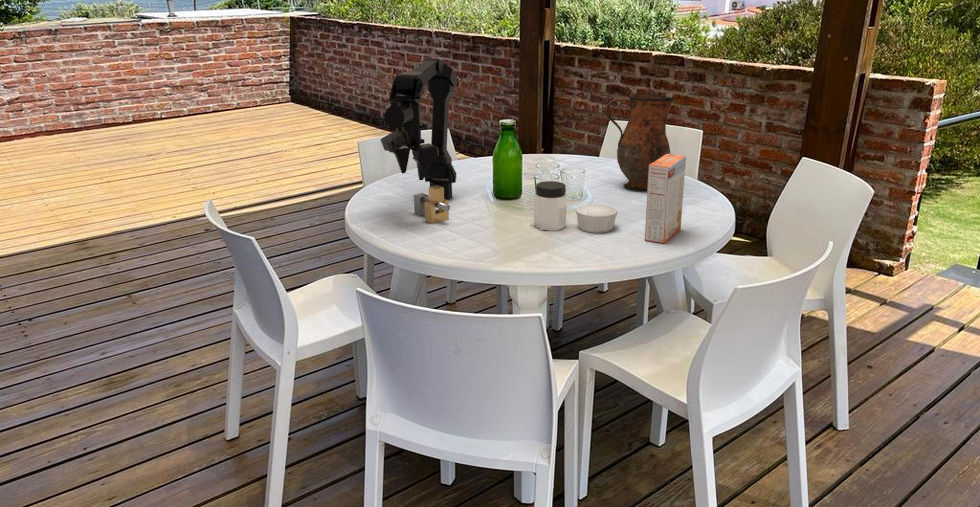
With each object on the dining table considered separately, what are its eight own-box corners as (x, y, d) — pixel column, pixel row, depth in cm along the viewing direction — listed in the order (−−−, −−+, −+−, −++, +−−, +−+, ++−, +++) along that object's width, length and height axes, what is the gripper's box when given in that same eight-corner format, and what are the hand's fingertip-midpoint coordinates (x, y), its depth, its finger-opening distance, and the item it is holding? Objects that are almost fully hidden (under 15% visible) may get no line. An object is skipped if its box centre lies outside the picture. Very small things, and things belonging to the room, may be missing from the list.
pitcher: (671, 194, 247) (679, 99, 237) (604, 194, 248) (609, 99, 238) (662, 181, 263) (669, 91, 252) (599, 180, 264) (603, 91, 253)
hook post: (423, 213, 230) (422, 192, 228) (454, 225, 219) (453, 203, 217) (411, 216, 227) (410, 194, 225) (441, 228, 217) (440, 206, 214)
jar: (570, 229, 216) (572, 187, 212) (545, 233, 213) (546, 190, 209) (554, 220, 224) (555, 179, 219) (529, 223, 220) (530, 182, 216)
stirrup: (442, 217, 224) (441, 184, 221) (448, 219, 222) (448, 186, 219) (425, 221, 221) (424, 188, 217) (431, 223, 218) (430, 190, 215)
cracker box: (660, 226, 218) (665, 152, 211) (681, 229, 215) (687, 155, 208) (642, 240, 207) (647, 163, 200) (664, 244, 204) (670, 166, 197)
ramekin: (568, 224, 220) (568, 206, 218) (602, 219, 224) (603, 202, 222) (588, 236, 210) (589, 218, 208) (623, 231, 214) (624, 213, 213)
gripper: (366, 119, 215) (370, 174, 220) (402, 130, 201) (405, 189, 207) (401, 114, 221) (404, 168, 227) (438, 124, 207) (440, 181, 213)
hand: (412, 176), depth 218 cm, fingers open, 9 cm apart
